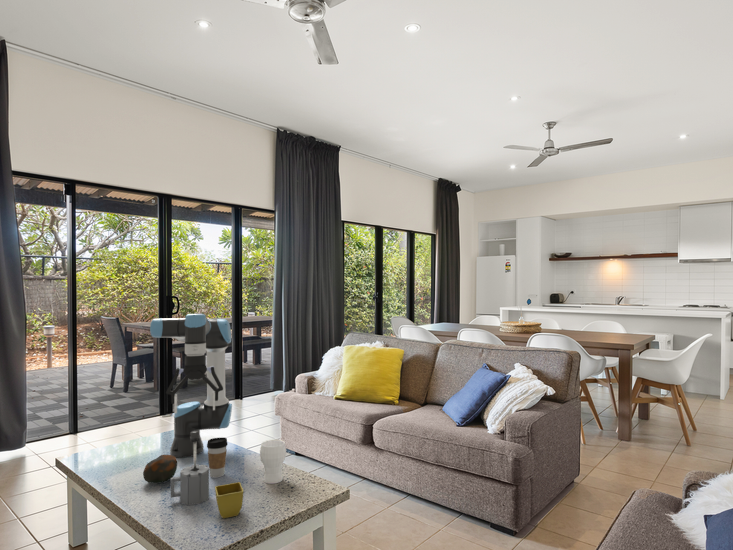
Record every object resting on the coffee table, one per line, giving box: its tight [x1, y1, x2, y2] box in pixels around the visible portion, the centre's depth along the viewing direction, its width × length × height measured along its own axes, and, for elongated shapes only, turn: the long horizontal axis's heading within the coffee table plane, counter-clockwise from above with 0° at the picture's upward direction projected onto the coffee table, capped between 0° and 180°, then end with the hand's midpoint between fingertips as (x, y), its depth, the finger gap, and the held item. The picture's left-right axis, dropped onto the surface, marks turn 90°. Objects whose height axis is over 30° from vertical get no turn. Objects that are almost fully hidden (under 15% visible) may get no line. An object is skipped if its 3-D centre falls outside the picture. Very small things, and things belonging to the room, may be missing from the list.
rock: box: [142, 454, 178, 484], centre depth 191 cm, size 14×11×10 cm
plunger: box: [189, 430, 201, 477], centre depth 175 cm, size 6×6×17 cm
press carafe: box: [170, 464, 210, 506], centre depth 174 cm, size 10×14×11 cm
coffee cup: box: [206, 437, 228, 479], centre depth 197 cm, size 8×8×15 cm
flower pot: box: [214, 481, 245, 519], centre depth 162 cm, size 9×9×9 cm
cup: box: [259, 439, 287, 484], centre depth 192 cm, size 11×11×15 cm
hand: (195, 411), depth 176 cm, fingers open, 13 cm apart
